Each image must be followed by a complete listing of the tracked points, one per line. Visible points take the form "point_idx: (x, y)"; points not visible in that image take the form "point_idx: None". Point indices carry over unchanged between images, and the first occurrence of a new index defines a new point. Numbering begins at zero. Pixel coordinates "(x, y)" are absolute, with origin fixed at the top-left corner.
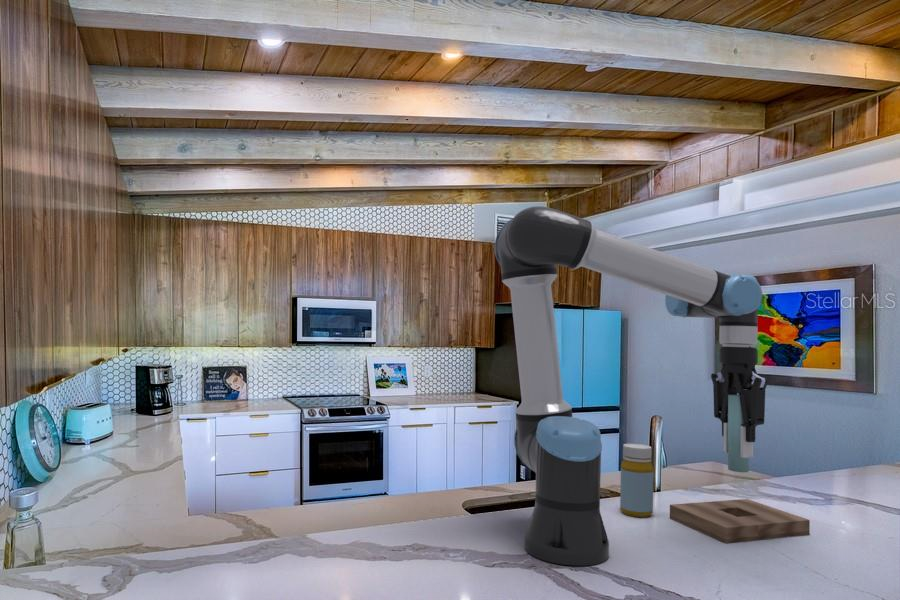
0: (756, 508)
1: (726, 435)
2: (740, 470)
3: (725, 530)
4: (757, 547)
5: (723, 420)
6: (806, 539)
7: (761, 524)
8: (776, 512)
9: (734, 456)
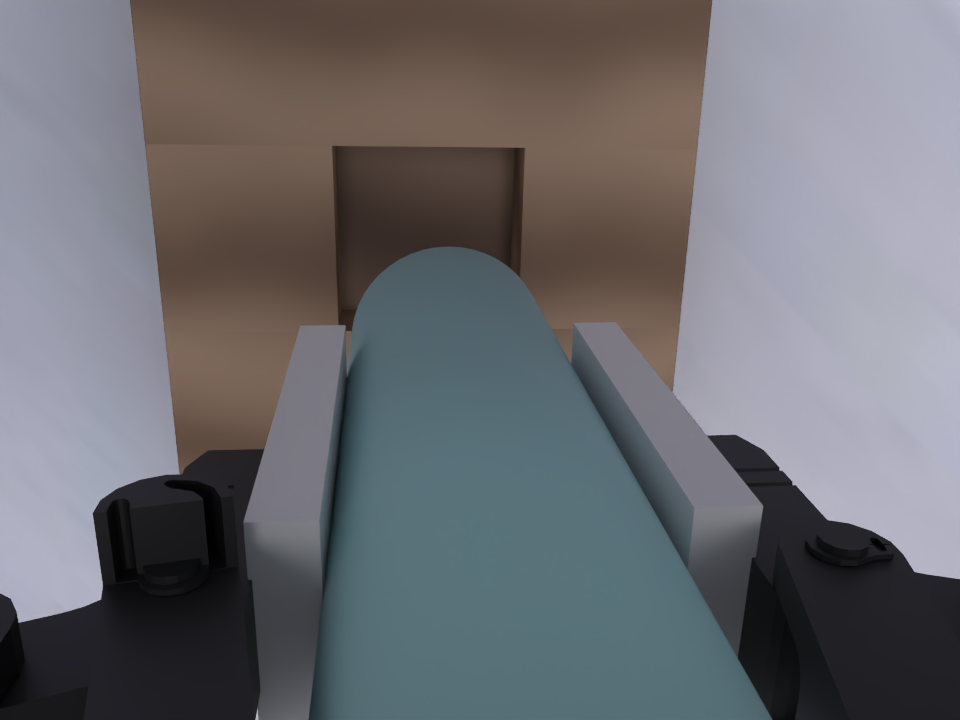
0: None
1: (631, 416)
2: (365, 295)
3: None
4: (45, 7)
5: (799, 541)
6: (141, 440)
7: (149, 176)
8: None
9: (415, 299)
